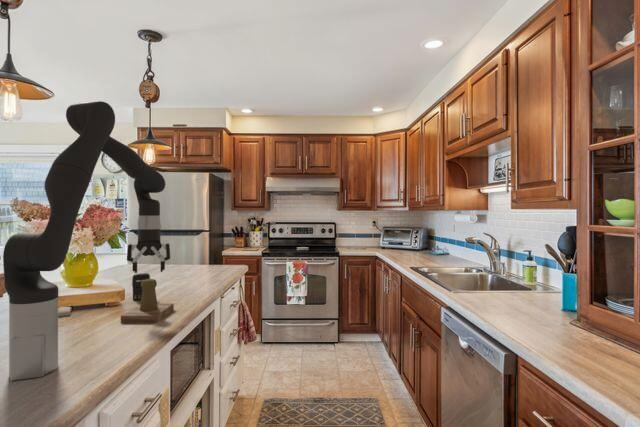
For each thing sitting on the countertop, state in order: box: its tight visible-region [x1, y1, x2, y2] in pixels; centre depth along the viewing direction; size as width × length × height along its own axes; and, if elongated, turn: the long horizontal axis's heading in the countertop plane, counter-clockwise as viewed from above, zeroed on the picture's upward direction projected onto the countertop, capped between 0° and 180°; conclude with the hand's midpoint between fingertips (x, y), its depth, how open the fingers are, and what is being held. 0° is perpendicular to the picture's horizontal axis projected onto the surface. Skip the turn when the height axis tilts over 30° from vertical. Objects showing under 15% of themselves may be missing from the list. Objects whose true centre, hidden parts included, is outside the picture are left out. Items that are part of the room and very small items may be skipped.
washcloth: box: [58, 306, 73, 318], centre depth 135 cm, size 12×18×3 cm, turn 33°
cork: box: [139, 278, 158, 312], centre depth 131 cm, size 6×6×11 cm
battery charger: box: [131, 272, 151, 301], centre depth 155 cm, size 7×4×11 cm, turn 111°
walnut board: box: [120, 303, 175, 324], centre depth 131 cm, size 16×12×2 cm
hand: (149, 272), depth 131 cm, fingers open, 8 cm apart
